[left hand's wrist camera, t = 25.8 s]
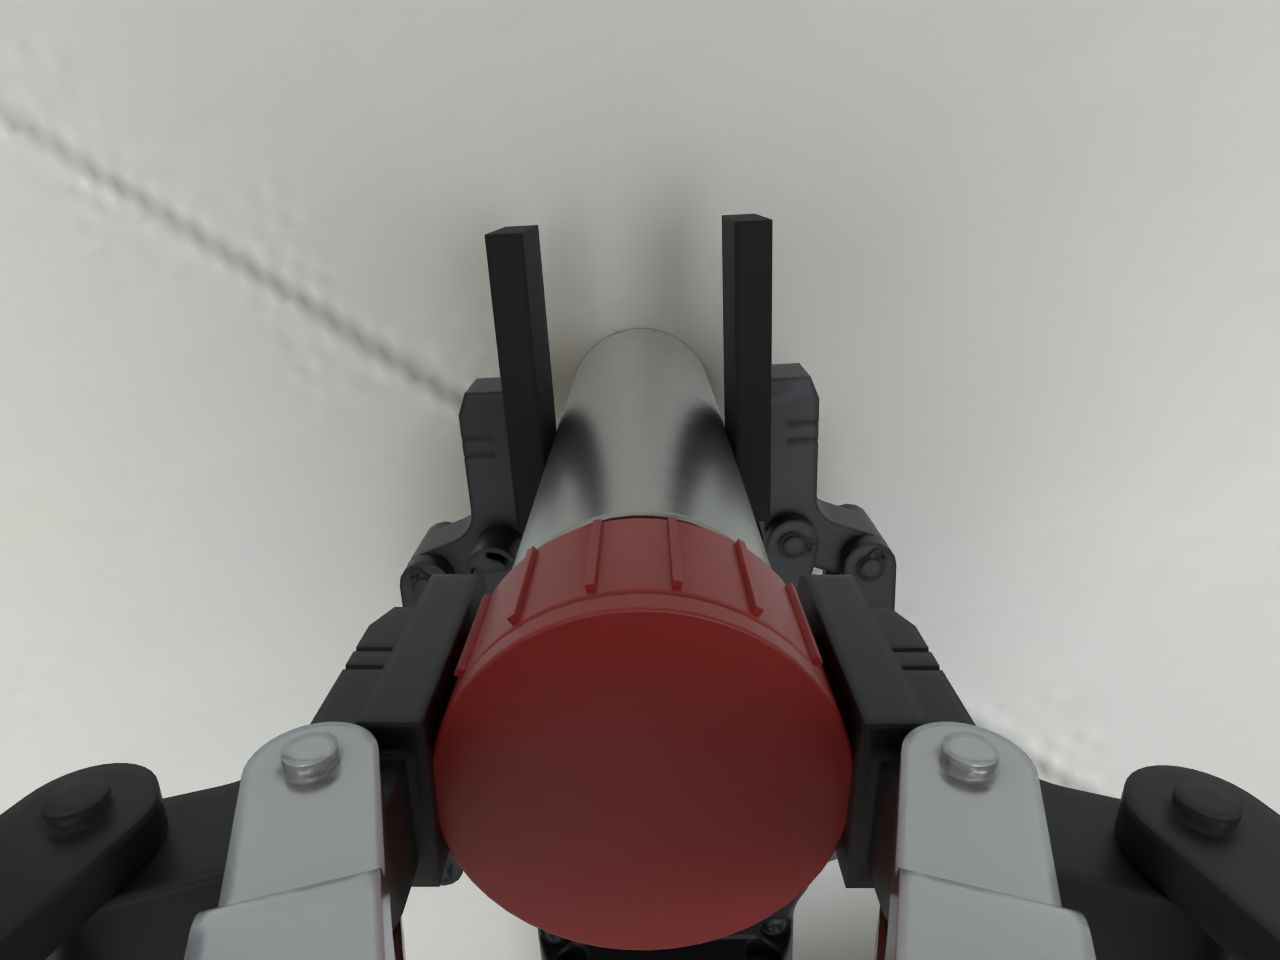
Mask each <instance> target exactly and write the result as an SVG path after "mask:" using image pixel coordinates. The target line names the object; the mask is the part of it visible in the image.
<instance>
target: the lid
mask: <svg viewBox="0 0 1280 960" xmlns="http://www.w3.org/2000/svg"><path fill="white" fill-rule="evenodd" d="M822 663H823V661H822V658H821V656H820V653H819V650H818V648H817V645H816V642H815V640H814V637H813V634H812V631H811V629H810V626H809V623H808V621H807V618H806V615H805V613H804V610H803V607H802V605H801V602H800V599H799V597H798V594H797V591H796V589H795V587H794V585H793V584H792V583H789V584H787V585H786V584H785V583H784V582H783V580H782V579H781V578H780V577H779V576H778V575H777V574H776V573H775V572H774V571H773V570H772V569H771V568H770V567H769V566H768V565H767V564H766V563H765V562H764V561H763V560H761V559H760V558H759V557H758V556H756V555H755V554H754V553H752V552H751V551H750V550H748V549H747V547H746V544H745V542H744V541H742V540H741V539H739V538H738V539H737V541H736V542H735V541H733V540H731V539H729V538H728V537H725V536H723V535H720V534H718V533H716V532H713V531H711V530H708V529H706V528H702V527H699V526H695V525H691V524H688V523H684V522H678V521H677V519H676V517H672V516H668V519H667V520H664V519H650V518H631V519H621V520H611V521H606V522H602V519H596V520H593V525H588V526H585V527H582V528H580V529H577V530H574V531H571V532H568V533H565V534H563V535H561V536H559V537H557V538H555V539H554V540H552V541H550V542H548V543H546V544H544V545H542V546H541V547H539V548H538V549H536V548H535V547H534V546H532V547H531V548H529V549H528V550H527V553H526V556H525V558H524V559H523V560H522V561H521V562H519V563H518V564H517V565H516V566H515V567H514V568H513V569H512V570H511V571H509V573H508V574H507V575H506V576H505V577H504V579H503V580H502V581H501V582H500V583H499V585H498V586H497V587H496V588H495V590H494V591H493V593H492V595H491V596H490V595H488V594H486V593H485V595H484V596H483V598H482V600H481V603H480V605H479V608H478V611H477V613H476V616H475V619H474V621H473V624H472V627H471V630H470V632H469V635H468V638H467V640H466V643H465V646H464V648H463V651H462V654H461V656H460V659H459V662H458V664H457V667H456V670H455V672H454V675H455V676H457V680H456V683H455V686H454V688H453V691H452V694H451V697H450V699H449V702H448V705H447V708H446V711H445V714H444V716H443V719H442V721H441V724H440V727H439V730H438V732H437V736H436V740H435V744H434V748H433V756H432V757H433V768H434V778H435V787H436V797H437V806H438V815H439V824H440V830H441V833H442V836H443V838H444V840H445V843H446V845H447V846H448V848H449V850H450V851H451V853H452V855H453V856H454V858H455V860H456V861H457V863H458V864H459V866H460V867H461V868H462V869H463V871H464V872H465V873H466V874H467V876H468V877H469V878H470V879H471V881H472V882H473V883H474V884H475V885H476V886H477V887H479V888H480V889H481V890H482V891H483V892H484V893H485V894H486V895H487V896H488V897H489V898H490V899H492V900H493V901H494V902H496V903H497V904H498V905H500V906H501V907H502V908H504V909H505V910H506V911H508V912H509V913H511V914H513V915H515V916H516V917H518V918H520V919H521V920H523V921H525V922H527V923H528V924H530V925H533V926H535V927H537V928H539V929H542V930H544V931H546V932H548V933H551V934H553V935H556V936H560V937H563V938H566V939H569V940H572V941H575V942H579V943H584V944H589V945H593V946H598V947H605V948H614V949H622V950H660V949H673V948H680V947H686V946H691V945H697V944H702V943H705V942H709V941H712V940H716V939H719V938H723V937H726V936H728V935H731V934H733V933H736V932H739V931H741V930H744V929H746V928H748V927H750V926H752V925H754V924H756V923H758V922H760V921H762V920H764V919H765V918H767V917H769V916H771V915H772V914H774V913H775V912H777V911H778V910H779V909H781V908H782V907H784V906H785V905H787V904H788V903H790V902H791V901H792V900H793V899H794V898H795V897H796V896H798V895H799V894H800V893H801V892H802V891H803V890H805V889H806V888H807V887H808V886H809V884H810V883H811V882H812V881H813V880H814V879H815V878H816V877H817V875H818V874H819V873H820V872H821V871H822V870H823V868H824V867H825V865H826V864H827V862H828V861H829V859H830V858H831V856H832V855H833V853H834V852H835V850H836V848H837V846H838V844H839V842H840V840H841V838H842V836H843V834H844V831H845V824H846V817H847V808H848V799H849V790H850V781H851V772H852V760H853V757H852V748H851V743H850V739H849V737H848V734H847V731H846V728H845V725H844V723H843V720H842V717H841V714H840V712H839V709H838V706H837V704H836V701H835V698H834V695H833V693H832V690H831V687H830V685H829V682H828V679H827V677H826V674H825V671H824V668H823V666H822Z"/></svg>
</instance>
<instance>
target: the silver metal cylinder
mask: <svg viewBox="0 0 1280 960" xmlns="http://www.w3.org/2000/svg"><path fill="white" fill-rule="evenodd" d="M668 516H672V517H676V519H677V521H678V522H684V523H688V524H691V525H695V526H699V527H702V528H706V529H708V530H711V531H713V532H716V533H718V534H720V535H723V536H725V537H728V538H729V539H731V540H733V541H735V542H736V541H737V539H738V538H739V539H741V540H742V541H744V542H745V544H746V547H747V549H748V550H750V551H751V552H752V553H754V554H755V555H756V556H758V557H759V558H760V559H761V560H763V561H764V562H765V563H766V564H767V565H768V566H769V567H770V568H771V566H770V563H769V560H768V557H767V554H766V551H765V548H764V545H763V542H762V539H761V536H760V532H759V529H758V526H757V523H756V520H755V517H754V514H753V511H752V508H751V505H750V502H749V499H748V496H747V493H746V490H745V487H744V484H743V481H742V478H741V475H740V472H739V469H738V466H737V463H736V460H735V457H734V454H733V451H732V448H731V445H730V442H729V439H728V436H727V433H726V430H725V427H724V424H723V421H722V418H721V415H720V412H719V409H718V406H717V403H716V400H715V397H714V394H713V391H712V388H711V385H710V382H709V379H708V376H707V373H706V371H705V368H704V366H703V364H702V363H701V361H700V359H699V358H698V357H697V355H696V354H695V353H694V352H693V351H692V350H691V349H690V348H689V347H688V346H687V345H686V344H685V343H683V342H682V341H681V340H679V339H677V338H676V337H674V336H672V335H670V334H667V333H665V332H661V331H658V330H653V329H630V330H625V331H621V332H618V333H615V334H613V335H610V336H608V337H607V338H605V339H603V340H602V341H600V342H599V343H598V344H596V345H595V346H594V347H593V348H592V349H591V350H590V351H589V352H588V353H587V354H586V356H585V357H584V358H583V360H582V362H581V363H580V365H579V367H578V369H577V372H576V374H575V377H574V380H573V383H572V386H571V389H570V392H569V395H568V398H567V402H566V405H565V408H564V411H563V414H562V417H561V420H560V423H559V426H558V429H557V432H556V435H555V439H554V442H553V445H552V448H551V451H550V454H549V457H548V460H547V463H546V466H545V469H544V472H543V475H542V479H541V482H540V485H539V488H538V491H537V494H536V497H535V500H534V503H533V506H532V509H531V512H530V516H529V519H528V522H527V525H526V528H525V531H524V534H523V537H522V540H521V543H520V546H519V549H518V552H517V556H516V559H515V562H514V565H513V568H514V567H515V566H516V565H517V564H518V563H519V562H521V561H522V560H523V559H524V558H525V556H526V553H527V550H528V549H529V548H531V547H532V546H534V547H535V548H536V549H538V548H539V547H541V546H542V545H544V544H546V543H548V542H550V541H552V540H554V539H555V538H557V537H559V536H561V535H563V534H565V533H568V532H571V531H574V530H577V529H580V528H582V527H585V526H588V525H593V520H596V519H602V522H606V521H611V520H621V519H631V518H650V519H664V520H667V519H668ZM513 568H512V569H513Z"/></svg>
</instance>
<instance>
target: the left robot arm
mask: <svg viewBox="0 0 1280 960" xmlns="http://www.w3.org/2000/svg"><path fill="white" fill-rule="evenodd" d="M485 593H486V594H487V586H486V581H485V577H484V575H483V574H433V575H432V576H431V577H430V579H429V580H428V582H427V584H426V586H425V588H424V590H423V592H422V594H421V596H420V598H419V600H418V602H417V604H416V605H415V607H394V608H393V609H391V610H390V611H389V612H387V613H386V614H385V615H383V616H382V617H380V618H379V619H378V620H376V621H375V622H374V623H372V624H371V625H369V627H368V629H367V630H366V632H365V634H364V635H363V637H362V639H361V640H360V642H359V644H358V645H357V647H356V651H354V652H353V654H352V655H351V657H350V659H349V660H348V662H347V664H346V669H345V670H342V672H341V674H340V675H339V677H338V679H337V680H336V682H335V684H334V685H333V687H332V689H331V690H330V692H329V694H328V695H327V697H326V699H325V700H324V702H323V704H322V705H321V707H320V709H319V710H318V712H317V714H316V715H315V717H314V719H313V720H312V722H311V724H310V725H306V726H302V727H299V728H296V729H293V730H290V731H288V732H286V733H283V734H281V735H279V736H278V737H276V738H274V739H272V740H271V741H269V742H268V743H266V744H265V745H263V746H262V747H261V748H260V749H259V750H258V751H256V752H255V753H254V754H253V756H252V757H251V758H250V759H249V760H248V762H247V764H246V766H245V767H244V770H243V773H242V776H241V780H240V781H237V782H234V783H231V784H227V785H223V786H219V787H214V788H210V789H205V790H201V791H196V792H191V793H187V794H182V795H178V796H173V797H168V798H164V799H162V795H161V791H160V787H159V783H158V780H157V778H156V776H155V775H154V773H153V772H152V771H150V770H149V769H147V768H145V767H143V766H140V765H136V764H129V763H112V764H103V765H98V766H93V767H88V768H85V769H81V770H78V771H75V772H72V773H70V774H67V775H64V776H62V777H60V778H57V779H55V780H53V781H51V782H49V783H47V784H45V785H43V786H42V787H40V788H38V789H36V790H35V791H33V792H32V793H30V794H29V795H27V796H26V797H24V798H23V799H22V800H20V801H19V802H18V803H16V804H15V805H13V806H12V807H11V808H9V809H8V810H7V811H5V812H4V813H2V814H1V815H0V960H406V959H405V945H404V933H403V926H402V918H401V916H402V913H403V911H404V907H405V904H406V901H407V898H408V895H409V892H410V889H411V887H440V883H441V880H442V876H443V872H444V869H445V865H446V862H447V858H448V855H449V851H450V850H449V848H448V846H447V845H446V843H445V840H444V838H443V836H442V833H441V830H440V824H439V815H438V806H437V797H436V787H435V778H434V768H433V757H432V756H433V748H434V744H435V740H436V736H437V732H438V730H439V727H440V724H441V721H442V719H443V716H444V714H445V711H446V708H447V705H448V702H449V699H450V697H451V694H452V691H453V688H454V686H455V683H456V680H457V676H455V675H454V672H455V670H456V667H457V664H458V662H459V659H460V656H461V654H462V651H463V648H464V646H465V643H466V640H467V638H468V635H469V632H470V630H471V627H472V624H473V621H474V619H475V616H476V613H477V611H478V608H479V605H480V603H481V600H482V598H483V596H484V595H485ZM797 594H798V597H799V599H800V602H801V605H802V607H803V610H804V613H805V615H806V618H807V621H808V623H809V626H810V629H811V631H812V634H813V637H814V640H815V642H816V645H817V648H818V650H819V653H820V656H821V658H822V661H823V663H822V666H823V668H824V671H825V674H826V677H827V679H828V682H829V685H830V687H831V690H832V693H833V695H834V698H835V701H836V704H837V706H838V709H839V712H840V714H841V717H842V720H843V723H844V725H845V728H846V731H847V734H848V737H849V739H850V743H851V748H852V757H853V760H852V772H851V781H850V790H849V799H848V808H847V817H846V824H845V831H844V834H843V836H842V838H841V840H840V842H839V844H838V846H837V848H836V850H835V852H836V855H837V859H838V862H839V866H840V869H841V872H842V876H843V879H844V883H845V886H846V888H875V891H876V894H877V897H878V900H879V903H880V911H879V918H878V926H877V933H876V945H875V959H874V960H1280V815H1279V814H1278V813H1276V812H1275V811H1273V810H1272V809H1271V808H1269V807H1268V806H1267V805H1265V804H1264V803H1262V802H1261V801H1260V800H1258V799H1257V798H1255V797H1254V796H1252V795H1251V794H1249V793H1248V792H1246V791H1245V790H1243V789H1241V788H1239V787H1237V786H1235V785H1234V784H1232V783H1229V782H1227V781H1225V780H1223V779H1221V778H1218V777H1215V776H1213V775H1210V774H1207V773H1204V772H1201V771H1197V770H1194V769H1189V768H1184V767H1178V766H1168V765H1156V766H1149V767H1145V768H1141V769H1138V770H1137V771H1135V772H1133V773H1132V774H1131V775H1130V776H1129V777H1128V778H1127V780H1126V783H1125V785H1124V789H1123V793H1122V797H1121V799H1117V798H1112V797H1108V796H1103V795H1098V794H1094V793H1089V792H1085V791H1080V790H1075V789H1071V788H1066V787H1063V786H1059V785H1055V784H1052V783H1049V782H1046V781H1043V780H1040V779H1039V776H1038V773H1037V770H1036V767H1035V766H1034V764H1033V762H1032V760H1031V759H1030V758H1029V757H1028V756H1027V754H1026V753H1025V752H1024V751H1022V750H1021V749H1020V748H1019V747H1018V746H1017V745H1015V744H1014V743H1012V742H1011V741H1009V740H1008V739H1006V738H1004V737H1002V736H1001V735H999V734H997V733H994V732H992V731H990V730H987V729H984V728H981V727H978V726H976V725H975V723H974V722H973V720H972V719H971V717H970V715H969V714H968V712H967V710H966V709H965V707H964V705H963V704H962V702H961V700H960V699H959V697H958V696H957V694H956V692H955V691H954V689H953V687H952V686H951V684H950V682H949V681H948V679H947V677H946V676H945V674H944V673H943V671H942V670H940V669H939V664H938V663H937V661H936V659H935V658H934V656H933V654H932V653H931V652H929V650H928V646H927V645H926V643H925V641H924V640H923V638H922V636H921V635H920V633H919V631H918V630H917V628H916V627H915V626H914V625H913V624H911V623H910V622H909V621H907V620H906V619H905V618H903V617H902V616H900V615H899V614H898V613H896V612H895V611H893V610H892V609H891V608H870V607H869V605H868V603H867V601H866V599H865V597H864V595H863V593H862V592H861V590H860V588H859V586H858V584H857V582H856V580H855V578H854V577H853V576H852V575H801V576H800V579H799V582H798V588H797Z"/></svg>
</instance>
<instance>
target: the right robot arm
mask: <svg viewBox="0 0 1280 960" xmlns="http://www.w3.org/2000/svg"><path fill="white" fill-rule="evenodd" d="M485 242H486V251H487V260H488V269H489V278H490V287H491V296H492V305H493V314H494V323H495V332H496V341H497V350H498V359H499V368H500V376H501V377H500V378H479V379H476V380H475V381H474V383H473V384H472V385H471V386H470V388H469V389H468V390H467V391H466V393H465V395H464V398H463V402H462V405H461V409H460V413H459V421H460V429H461V436H462V440H463V441H462V444H463V451H464V456H465V467H466V474H467V482H468V489H469V497H470V504H471V515H470V516H468V517H466V518H464V519H462V520H459V521H457V522H454V523H451V522H441V523H437V524H435V525H434V526H432V527H431V528H430V529H429V531H428V532H427V534H426V536H425V537H424V538H423V540H422V542H421V543H420V545H419V547H418V548H417V550H416V552H415V553H414V555H413V557H412V558H411V560H410V562H409V563H408V566H407V568H406V569H405V571H404V573H403V574H402V576H401V580H400V590H401V596H402V603H403V607H415V605H416V604H417V602H418V600H419V598H420V596H421V594H422V592H423V590H424V588H425V586H426V584H427V582H428V580H429V579H430V577H431V576H432V575H433V574H483V575H484V577H485V581H486V586H487V594H488V595H490V596H491V595H492V593H493V591H494V590H495V588H496V587H497V586H498V585H499V583H500V582H501V581H502V580H503V579H504V577H505V576H506V575H507V574H508V573H509V571H511V570H512V568H513V565H514V562H515V559H516V556H517V552H518V549H519V546H520V543H521V540H522V537H523V534H524V531H525V528H526V525H527V522H528V519H529V516H530V512H531V509H532V506H533V503H534V500H535V497H536V494H537V491H538V488H539V485H540V482H541V479H542V475H543V472H544V469H545V466H546V463H547V460H548V457H549V454H550V451H551V448H552V445H553V442H554V439H555V435H556V432H557V431H556V420H555V409H554V398H553V386H552V375H551V364H550V353H549V342H548V331H547V319H546V308H545V297H544V286H543V275H542V264H541V253H540V241H539V230H538V225H532V226H513V227H504V228H501V229H499V230H496V231H494V232H491V233H488V234H486V235H485ZM722 261H723V333H724V404H725V430H726V433H727V436H728V439H729V442H730V445H731V448H732V451H733V454H734V457H735V460H736V463H737V466H738V469H739V472H740V475H741V478H742V481H743V484H744V487H745V490H746V493H747V496H748V499H749V502H750V505H751V508H752V511H753V514H754V517H755V520H756V523H757V526H758V529H759V532H760V536H761V539H762V542H763V545H764V548H765V551H766V554H767V557H768V560H769V563H770V566H771V569H772V570H773V571H774V572H775V573H776V574H777V575H778V576H779V577H780V578H781V579H782V580H783V582H784V583H785V584H786V585H787V584H789V583H792V584H793V585H794V587H795V589H796V591H797V588H798V582H799V579H800V576H801V575H812V571H813V567H816V568H819V569H823V575H852V576H853V577H854V578H855V580H856V582H857V584H858V586H859V588H860V590H861V592H862V593H863V595H864V597H865V599H866V601H867V603H868V605H869V607H870V608H891V609H892V610H893V611H894V608H895V583H896V561H895V556H894V554H893V553H892V551H891V550H890V548H889V547H888V545H887V544H886V542H885V541H884V539H883V538H882V536H881V535H880V533H879V532H878V530H877V529H876V527H875V526H874V524H873V523H872V521H871V520H870V518H869V517H868V515H867V514H866V513H865V511H864V510H863V509H862V508H860V507H858V506H856V505H852V504H844V505H840V506H837V505H833V504H830V503H826V502H824V501H822V500H819V499H818V498H817V496H816V494H817V458H818V422H819V397H818V394H817V392H816V389H815V387H814V384H813V382H812V379H811V377H810V376H809V374H808V373H807V372H806V371H805V370H804V368H803V367H802V366H801V365H800V364H799V363H793V364H772V365H771V350H772V220H771V219H768V218H765V217H763V216H760V215H757V214H741V215H722ZM835 859H837V855H836V852H834V853H833V855H832V856H831V858H830V859H829V861H832V860H835ZM829 861H828V862H829ZM462 873H463V869H462V868H461V867H460V866H459V864H458V863H457V861H456V860H455V858H454V856H453V855H452V853H451V851H449V855H448V858H447V862H446V865H445V869H444V872H443V876H442V880H441V883H440V885H449V884H452V883H454V882H456V881H457V880H459V878H460V876H461V875H462ZM807 888H808V887H807ZM807 888H806V889H807ZM806 889H805V890H803V891H802V892H801V893H800V894H799V895H798V896H796V897H795V898H794V899H793V900H792V901H791V902H790V903H788V904H787V905H785V906H784V907H782V908H781V909H779V910H778V911H777V912H775V913H774V914H772V915H771V916H769V917H767V918H765V919H764V920H762V921H760V922H758V923H756V924H754V925H752V926H750V927H748V928H746V929H744V930H741V931H739V932H736V933H733V934H731V935H728V936H726V937H723V938H719V939H716V940H712V941H709V942H705V943H702V944H697V945H691V946H686V947H680V948H673V949H660V950H622V949H614V948H605V947H598V946H593V945H589V944H584V943H579V942H575V941H572V940H569V939H566V938H563V937H560V936H556V935H553V934H551V933H548V932H546V931H544V930H542V929H539V928H538V934H539V942H540V950H541V958H542V960H792V944H793V913H794V909H795V906H796V904H797V902H798V900H799V899H800V897H801V896H802V895H803V893H804V892H805V891H806Z"/></svg>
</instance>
